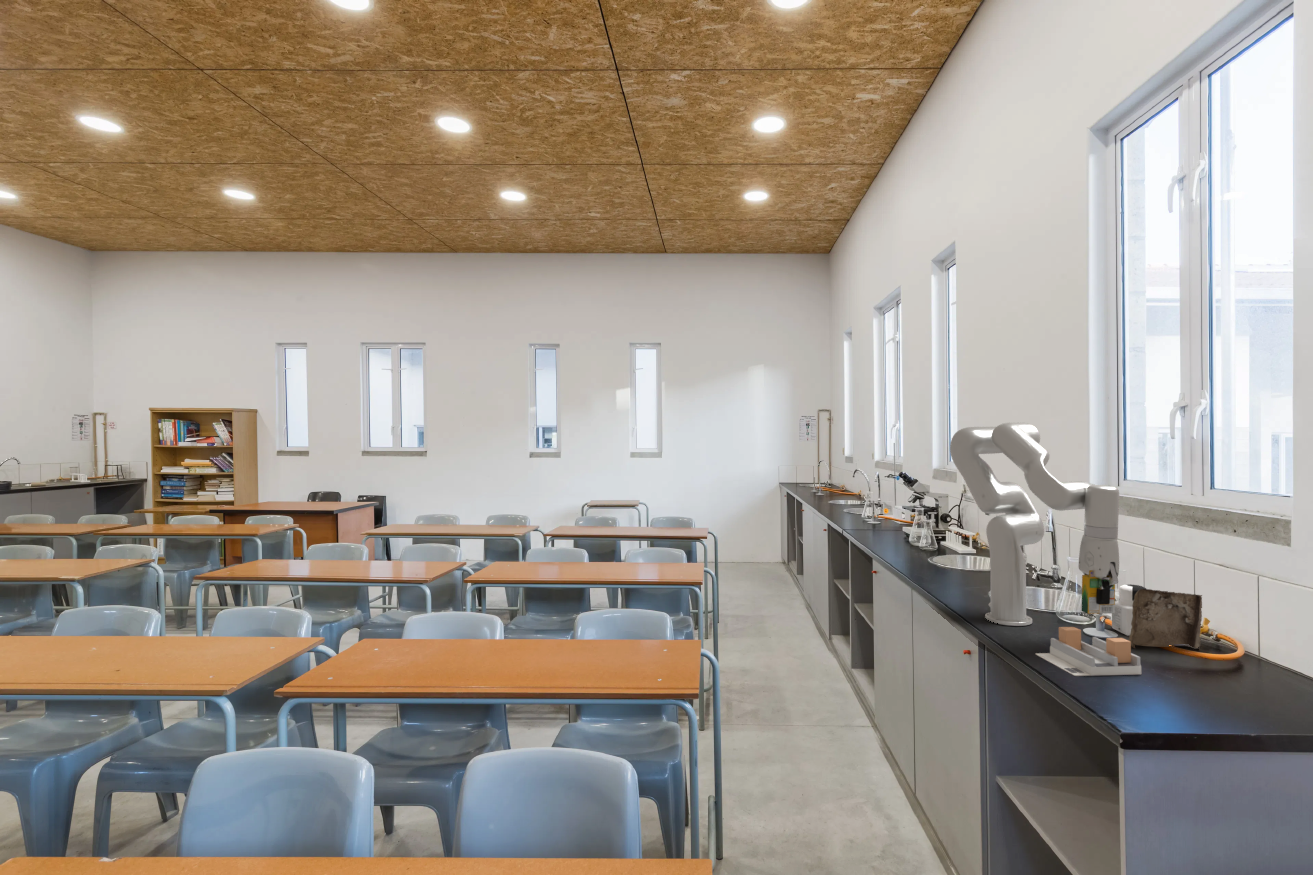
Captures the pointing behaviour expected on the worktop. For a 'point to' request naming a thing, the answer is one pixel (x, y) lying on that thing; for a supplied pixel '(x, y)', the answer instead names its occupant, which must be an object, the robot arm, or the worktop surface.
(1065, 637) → the tan rectangular block
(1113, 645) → the light orange block
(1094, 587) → the crayon box
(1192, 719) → the worktop surface
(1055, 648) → the white divided tray
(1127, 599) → the container
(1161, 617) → the mineral sample
